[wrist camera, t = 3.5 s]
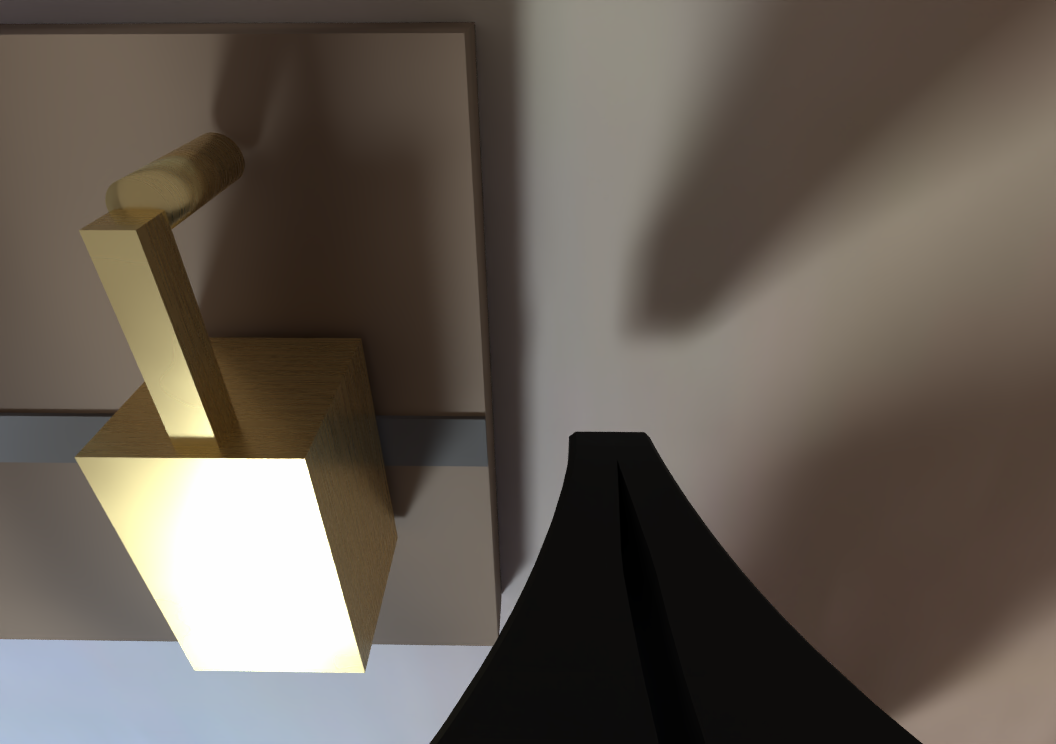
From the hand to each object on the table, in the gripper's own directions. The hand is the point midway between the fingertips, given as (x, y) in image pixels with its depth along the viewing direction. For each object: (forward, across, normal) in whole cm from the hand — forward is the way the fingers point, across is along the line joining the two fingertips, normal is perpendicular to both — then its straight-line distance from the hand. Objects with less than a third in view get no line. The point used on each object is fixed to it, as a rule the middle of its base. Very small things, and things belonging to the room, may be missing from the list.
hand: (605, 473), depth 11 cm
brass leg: (+1, +6, -2) cm, 6 cm away
